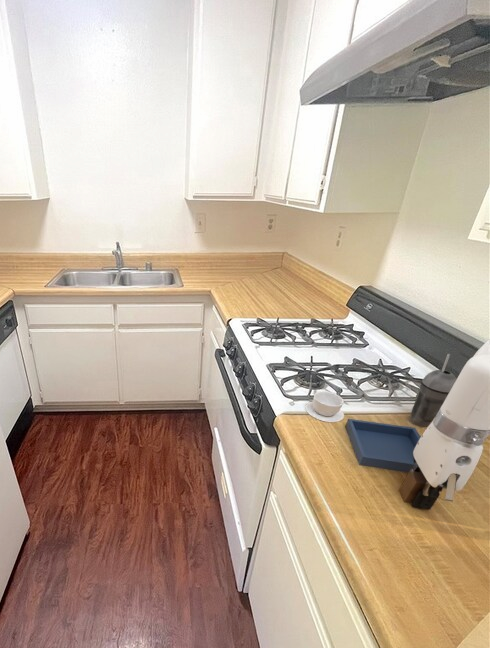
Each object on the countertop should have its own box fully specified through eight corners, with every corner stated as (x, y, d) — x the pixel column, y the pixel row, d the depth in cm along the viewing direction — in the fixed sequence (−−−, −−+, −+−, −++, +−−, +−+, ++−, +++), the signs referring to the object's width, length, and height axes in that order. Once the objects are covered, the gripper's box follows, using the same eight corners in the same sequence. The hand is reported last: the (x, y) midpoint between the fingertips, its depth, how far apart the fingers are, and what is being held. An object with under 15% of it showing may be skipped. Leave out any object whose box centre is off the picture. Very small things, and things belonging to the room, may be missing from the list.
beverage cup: (438, 434, 88) (479, 364, 77) (405, 428, 90) (441, 358, 79) (429, 418, 94) (467, 351, 83) (399, 412, 96) (432, 346, 84)
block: (424, 495, 71) (437, 474, 67) (430, 508, 68) (445, 486, 65) (397, 491, 71) (409, 470, 68) (403, 503, 69) (416, 482, 66)
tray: (410, 436, 87) (415, 427, 85) (435, 477, 75) (441, 468, 73) (344, 427, 89) (348, 418, 88) (358, 466, 77) (363, 456, 76)
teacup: (335, 428, 89) (341, 413, 86) (298, 412, 94) (303, 398, 92) (348, 412, 95) (354, 398, 92) (313, 398, 101) (317, 384, 98)
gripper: (516, 462, 52) (456, 537, 62) (461, 402, 66) (419, 471, 76) (460, 454, 53) (410, 529, 63) (418, 397, 67) (382, 466, 77)
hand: (415, 497), depth 69 cm, fingers open, 4 cm apart
